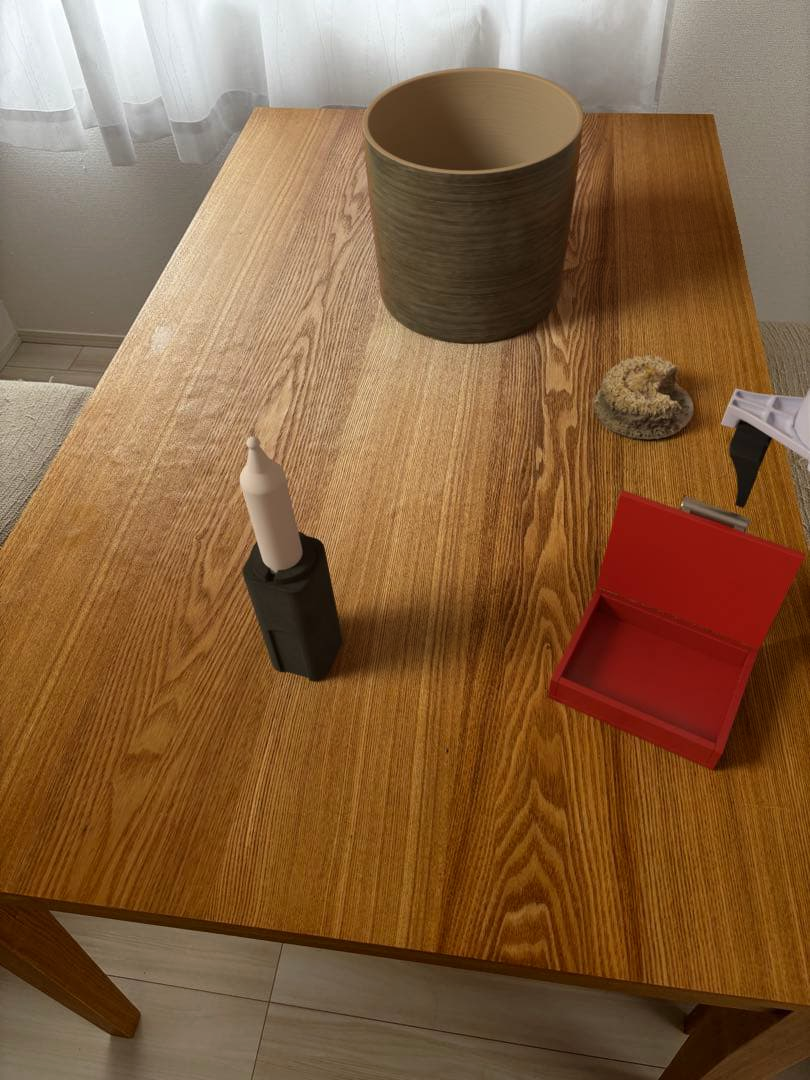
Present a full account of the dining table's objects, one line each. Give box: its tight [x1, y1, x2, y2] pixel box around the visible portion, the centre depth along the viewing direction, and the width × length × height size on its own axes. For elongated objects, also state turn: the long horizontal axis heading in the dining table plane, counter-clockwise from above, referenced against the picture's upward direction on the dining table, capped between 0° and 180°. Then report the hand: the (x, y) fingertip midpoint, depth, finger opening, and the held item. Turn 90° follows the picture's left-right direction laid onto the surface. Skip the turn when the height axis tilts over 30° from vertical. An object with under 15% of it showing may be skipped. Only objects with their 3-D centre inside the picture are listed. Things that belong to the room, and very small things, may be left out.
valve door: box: [596, 489, 806, 650], centre depth 66 cm, size 10×13×4 cm
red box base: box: [547, 586, 759, 771], centre depth 68 cm, size 10×13×3 cm
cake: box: [592, 354, 695, 440], centre depth 87 cm, size 10×10×5 cm
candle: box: [239, 435, 344, 682], centre depth 63 cm, size 5×5×25 cm
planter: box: [361, 66, 585, 344], centre depth 95 cm, size 22×22×20 cm
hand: (793, 516), depth 66 cm, fingers open, 7 cm apart
